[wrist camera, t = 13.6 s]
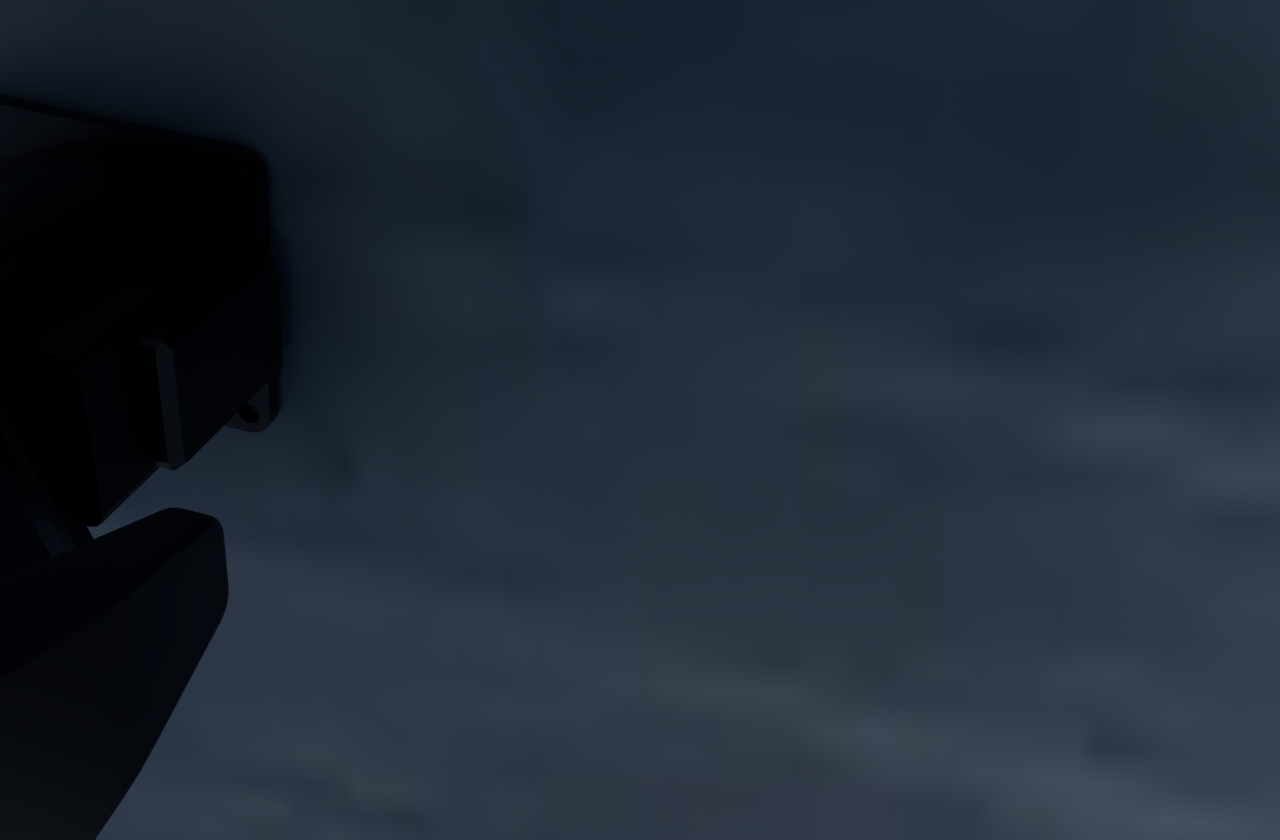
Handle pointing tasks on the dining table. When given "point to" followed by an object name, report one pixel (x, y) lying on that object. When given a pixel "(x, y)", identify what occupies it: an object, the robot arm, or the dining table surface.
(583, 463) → the dining table surface
